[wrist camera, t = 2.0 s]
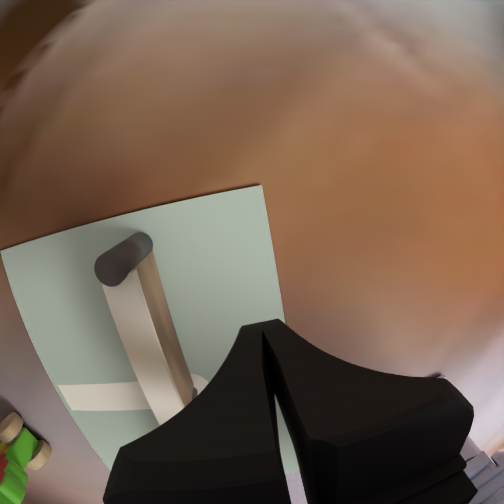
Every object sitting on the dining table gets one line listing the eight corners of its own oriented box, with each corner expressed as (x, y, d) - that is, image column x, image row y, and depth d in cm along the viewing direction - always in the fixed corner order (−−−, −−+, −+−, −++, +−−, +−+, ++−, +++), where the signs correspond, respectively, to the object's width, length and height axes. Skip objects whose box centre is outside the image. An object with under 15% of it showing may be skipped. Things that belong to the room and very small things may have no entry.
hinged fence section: (196, 383, 18) (190, 436, 14) (173, 386, 18) (162, 438, 14) (151, 229, 16) (122, 249, 11) (124, 235, 16) (88, 257, 11)
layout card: (305, 468, 22) (306, 470, 22) (121, 483, 21) (121, 484, 21) (261, 185, 16) (261, 185, 16) (1, 250, 16) (-1, 251, 15)
